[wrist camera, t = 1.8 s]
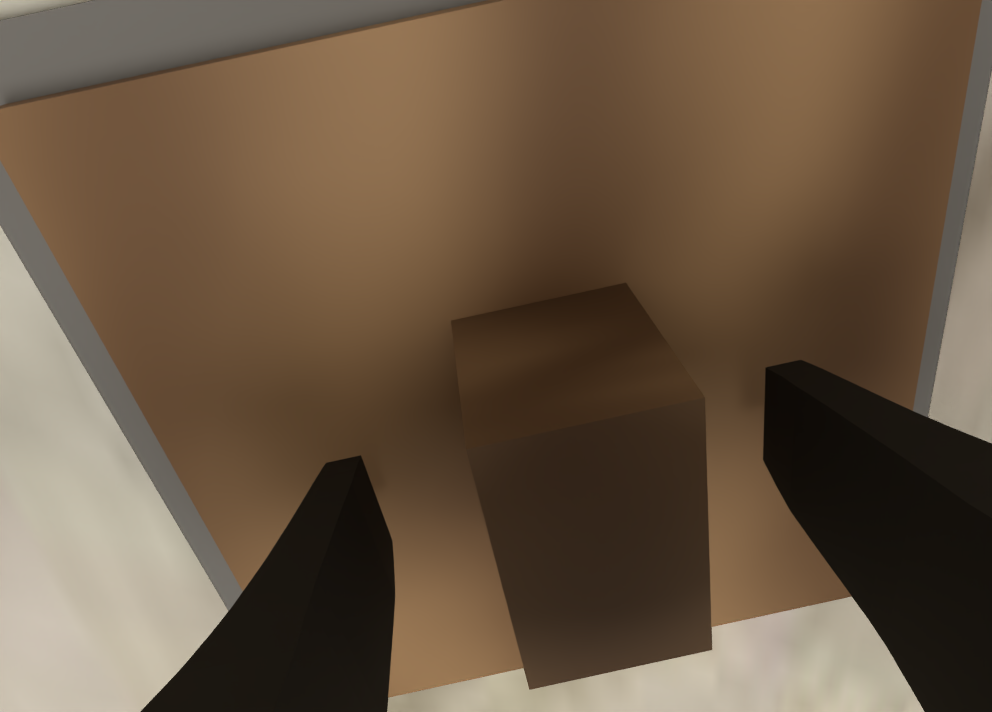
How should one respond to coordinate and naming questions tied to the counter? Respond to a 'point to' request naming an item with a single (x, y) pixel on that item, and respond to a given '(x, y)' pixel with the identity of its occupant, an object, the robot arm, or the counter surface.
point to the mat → (252, 26)
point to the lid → (517, 292)
